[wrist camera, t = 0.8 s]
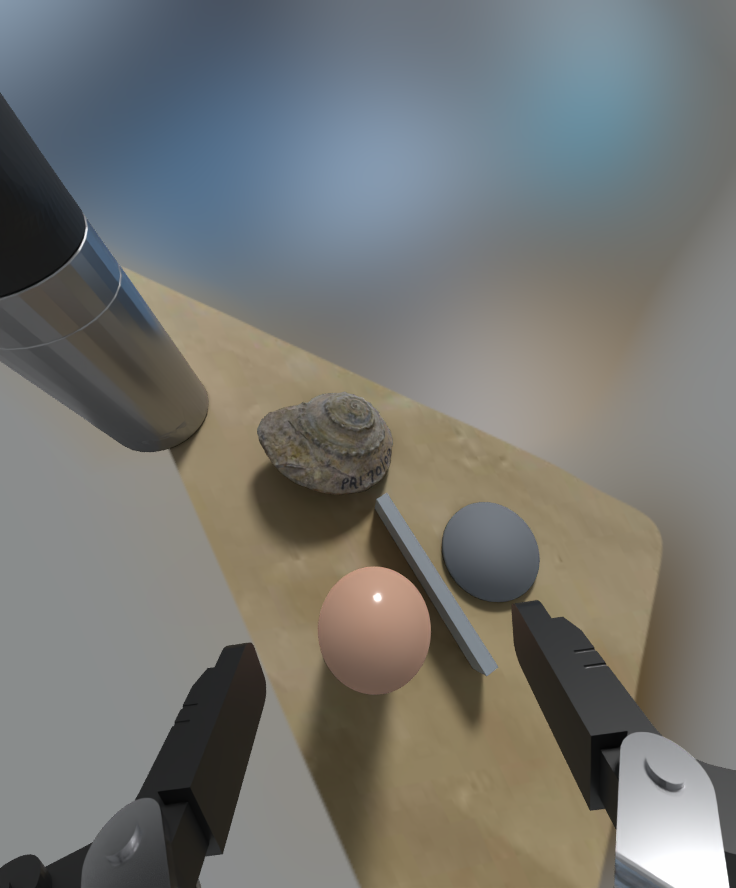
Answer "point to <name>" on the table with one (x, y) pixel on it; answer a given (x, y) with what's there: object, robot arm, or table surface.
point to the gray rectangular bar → (435, 587)
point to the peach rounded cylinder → (374, 630)
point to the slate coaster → (490, 552)
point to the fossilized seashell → (329, 443)
